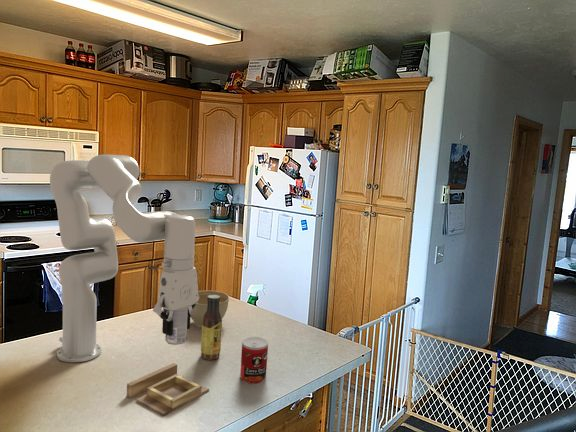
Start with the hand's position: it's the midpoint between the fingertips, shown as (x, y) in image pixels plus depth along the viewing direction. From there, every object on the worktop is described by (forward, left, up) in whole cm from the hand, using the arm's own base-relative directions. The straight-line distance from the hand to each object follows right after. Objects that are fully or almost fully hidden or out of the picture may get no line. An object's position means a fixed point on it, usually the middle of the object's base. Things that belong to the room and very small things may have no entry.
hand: (176, 330), depth 118 cm
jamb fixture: (-2, 0, -18) cm, 18 cm away
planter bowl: (-29, +43, -19) cm, 55 cm away
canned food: (+10, +22, -19) cm, 30 cm away
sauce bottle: (-9, +24, -19) cm, 32 cm away
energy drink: (0, 0, -3) cm, 3 cm away
